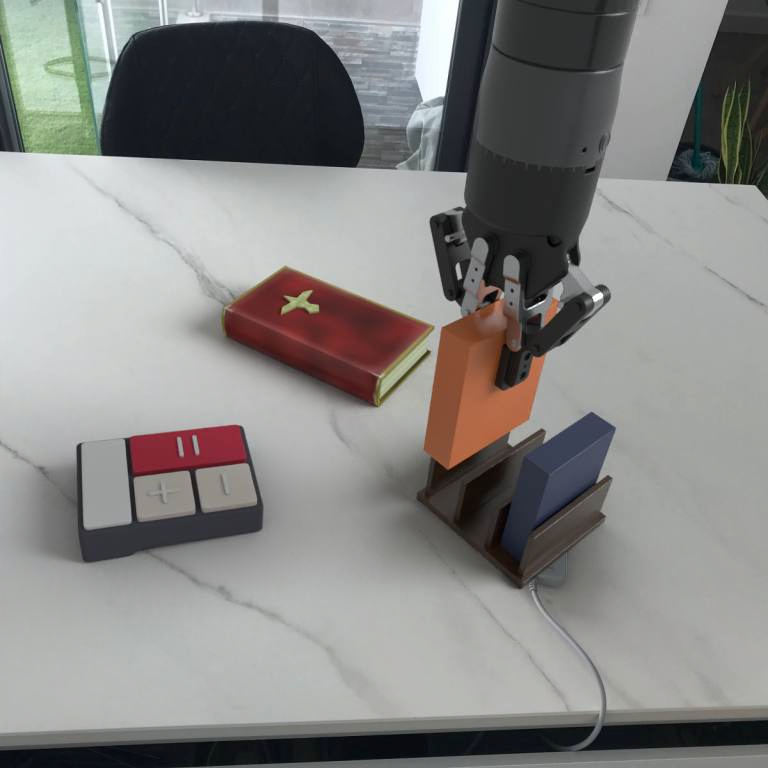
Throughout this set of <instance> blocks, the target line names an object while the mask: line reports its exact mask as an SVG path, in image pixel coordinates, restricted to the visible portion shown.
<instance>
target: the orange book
mask: <svg viewBox="0 0 768 768" xmlns="http://www.w3.org/2000/svg"><path fill="white" fill-rule="evenodd" d="M559 301H560V300H558V299H557V298H555V297H553V296H552V303H551V306H550V307H549V308H548V310H547V312H546V318H545V325H546V324H547V323H548V322H549V321H550V320H551V319H552V318H553V317H554V316H555V315H556V314H557V313H558V310H559V307H558V305H557V303H558V302H559ZM503 303H504V297H503V298H500V300H498V301H496V302H494V303H492V304H490V305H488V306H486V307H484V308H482V309H479V310H477V311H475V312H473V313H471V314H469V315H467V316H465V317H461V318H458V319H457V320H454V321H453V322H450V323H448V324H446V325H444V326H442V327H441V329H440V334H439V340H438V341H439V342H438V348H437V354H436V362H435V368H434V375H433V383H432V388H431V389H432V390H431V396H430V402H429V408H428V409H429V410H428V416H427V422H426V429H425V430H426V431H425V435H424V443H423V449H422V450H423V452H425V453H426V454H427V455H429V457H430V458H431V457H433V458H434V459H435V460H436V461H438V462H439V463H440V464H441V465H442V466H444V467H445V468H446V469H447V470H449V469H450V468H452V467H454V466H455V465H457V464H458V463H460V462H462V461H463V460H465V459H466V458H468V457H470V456H471V455H473V454H475V453H476V452H478V451H479V450H481V449H483V448H484V447H486V446H487V445H489V444H491V443H492V442H494V441H495V440H497V439H499V438H500V437H502V436H503V435H505V434H507V433H508V432H510V433H511V432H512V431H514V430H515V429H516V428H518V427H519V426H521V425H523V424H524V423H526V422H528V421H529V420H530V417H531V415H532V414H531V413H532V411H533V406H534V402H535V398H536V395H537V391H538V388H539V387H538V386H539V383H540V380H541V375H542V371H543V367H544V363H545V360H546V356H547V353H546V354H545V355H543V356H541V357H534V356H533V359H532V363H531V368H530V372H529V376H528V377H527V378H526V379H525V380H524V381H523V382H521V383H519V384H517V385H516V386H514V387H512V388H511V387H510V388H509V389H507V390H505V391H502V390H501V389H499V388H498V387H496V386H495V379H496V375H497V370H498V365H499V360H500V356H501V351H502V346H503V345H504V344H506V330H507V317H505V316H504V315H503Z"/></svg>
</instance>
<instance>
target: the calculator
mask: <svg viewBox="0 0 768 768" xmlns="http://www.w3.org/2000/svg"><path fill="white" fill-rule="evenodd" d="M75 453H76V455H75V456H76V457H75V458H76V459H75V460H76V500H77V501H76V504H77V505H76V506H77V507H76V509H77V535H78V540H79V546H80V552H81V557H82V560H83V562H85V563H93V562H99V561H106V560H111V559H118V558H124V557H125V558H126V557H130V556H132V555H134V554H135V553H137V552H139V551H141V550H145V549H154V548H159V547H165V546H171V545H178V544H186V543H192V542H197V541H204V540H211V539H216V538H217V539H218V538H224V537H230V536H237V535H243V534H248V533H255V532H260V531H262V529H263V526H264V503H263V502H264V501H263V497H262V494H261V490H260V486H259V482H258V479H257V476H256V472H255V471H256V470H255V467H254V463H253V460H252V455H251V452H250V447H249V444H248V439H247V435H246V432H245V429H244V426H242V425H240V424H227V425H217V426H211V427H210V426H209V427H200V428H191V429H182V430H175V431H174V430H172V431H164V432H163V431H162V432H155V433H145V434H136V435H132V436H131V435H130V437H129V436H128V437H121V438H120V437H119V438H112V439H103V440H93V441H84V442H79V443H77V445H76V450H75Z"/></svg>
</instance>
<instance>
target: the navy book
mask: <svg viewBox="0 0 768 768" xmlns="http://www.w3.org/2000/svg"><path fill="white" fill-rule="evenodd" d="M616 430H617V426H614V425H613V424H611V423H610V422H608V421H607V420H605V419H604V418H602V417H601V416H600V415H598V414H597V413H595V412H593V411H590V412H589V413H587V414H586V415H584V416H583V417H581V418H580V419H578V420H576V421H575V422H574V423H572V424H570V425H569V426H567V427H566V428H564V429H563V430H561V431H560V432H558V433H557V434H555V435H554V436H552V437H551V438H550V439H548V440H547V441H545V442H543V444H542V445H541V446H539V447H538V448H536V449H535V450H533V451H532V452H530V453H529V454H527V455H526V456H524V458H523V462H522V465H521V469H520V473H519V477H518V480H517V484H516V488H515V491H514V495H513V499H512V502H511V506H510V510H509V513H508V517H507V521H506V524H505V528H504V532H503V535H502V539H501V543H500V545H501V546H502V547H503V548H504V549H505V550H507V551H508V552H509V553H510V554H511V555H512V556H514V557H515V558H516V559H517V560H518V561H520V562H521V559H522V556H523V552H524V549H525V546H526V542H527V539H528V536H529V534H530V533H532V532H533V531H534V530H536V529H537V528H538V527H540V526H541V525H542V524H544V523H545V522H546V521H547V520H549V519H550V518H551V517H553V516H554V515H555V514H557V513H558V512H559V511H561V510H562V509H563V508H565V507H566V506H567V505H569V504H570V503H571V502H573V501H574V500H575V499H577V498H578V497H579V496H581V495H582V494H583V493H584V492H586V491H587V490H588V489H590V488H591V487H592V486H594V485H595V484H596V483H598V479H599V476H600V475H601V471H602V469H603V466H604V463H605V460H606V457H607V455H608V452H609V449H610V446H611V444H612V441H613V438H614V436H615V433H616Z"/></svg>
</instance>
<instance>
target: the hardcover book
mask: <svg viewBox="0 0 768 768" xmlns="http://www.w3.org/2000/svg"><path fill="white" fill-rule="evenodd" d="M221 328H222V333H223V335H224V337H227V338H229V339H231V340H233V341H235V342H238V343H239V344H242V345H244V346H246V347H248V348H251V349H253V350H255V351H257V352H259V353H262V354H263V355H265V356H268V357H270V358H272V359H274V360H276V361H279V362H280V363H282V364H285V365H287V366H289V367H291V368H294V369H297V370H298V371H300V372H303V373H305V374H307V375H309V376H311V377H312V378H315V379H318V380H320V381H322V382H324V383H326V384H329V385H331V386H333V387H335V388H336V389H339V390H341V391H343V392H345V393H348V394H350V395H352V396H355V397H357V398H358V399H361V400H362V401H365V402H367V403H370V404H372V405H374V406H375V407H378V408H379V407H380V406H381V405H382V404H383V403H384V402H385V401H386V400H387V399H388V398H389V397H391V395H393V393H394V392H395V391H397V389H398V388H399V387H400V386H401V385H402V384H403V383H404V382H405V381H406V380H407V379H408V378H409V377H410V376H411V375H412V374H413V372H415V371H416V370H417V369H418V368H419V367H420V366H421V365H422V363H424V361H426V360H427V358H429V356H430V355H431V354H432V351H431V350H430V349H428V344H429V337H430V334H431V333H433V331H435V328H436V326H435V325H432V324H430V323H427V322H425V321H423V320H420V319H418V318H416V317H414V316H411V315H408V314H406V313H403V312H401V311H398V310H396V309H393V308H391V307H388V306H386V305H383V304H381V303H379V302H376V301H374V300H372V299H369V298H367V297H364V296H362V295H359V294H357V293H354V292H352V291H349V290H347V289H344V288H341V287H339V286H336V285H335V284H332V283H329V282H327V281H324V280H322V279H320V278H317V277H314V276H313V275H310V274H308V273H305V272H302V271H300V270H298V269H295V268H292V267H291V266H288V265H284V266H282V267H281V268H279V269H278V270H276V271H275V272H273V273H271V275H269V276H268V277H266V278H265V279H263V280H262V281H261V282H258V283H257V284H256V285H254V286H253V287H251V288H250V289H247V291H245V292H244V293H242V294H241V295H239V296H237V298H235V299H234V300H232V301H231V302H229V303H228V304H226V305H225V306H223V307H222V310H221Z"/></svg>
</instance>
